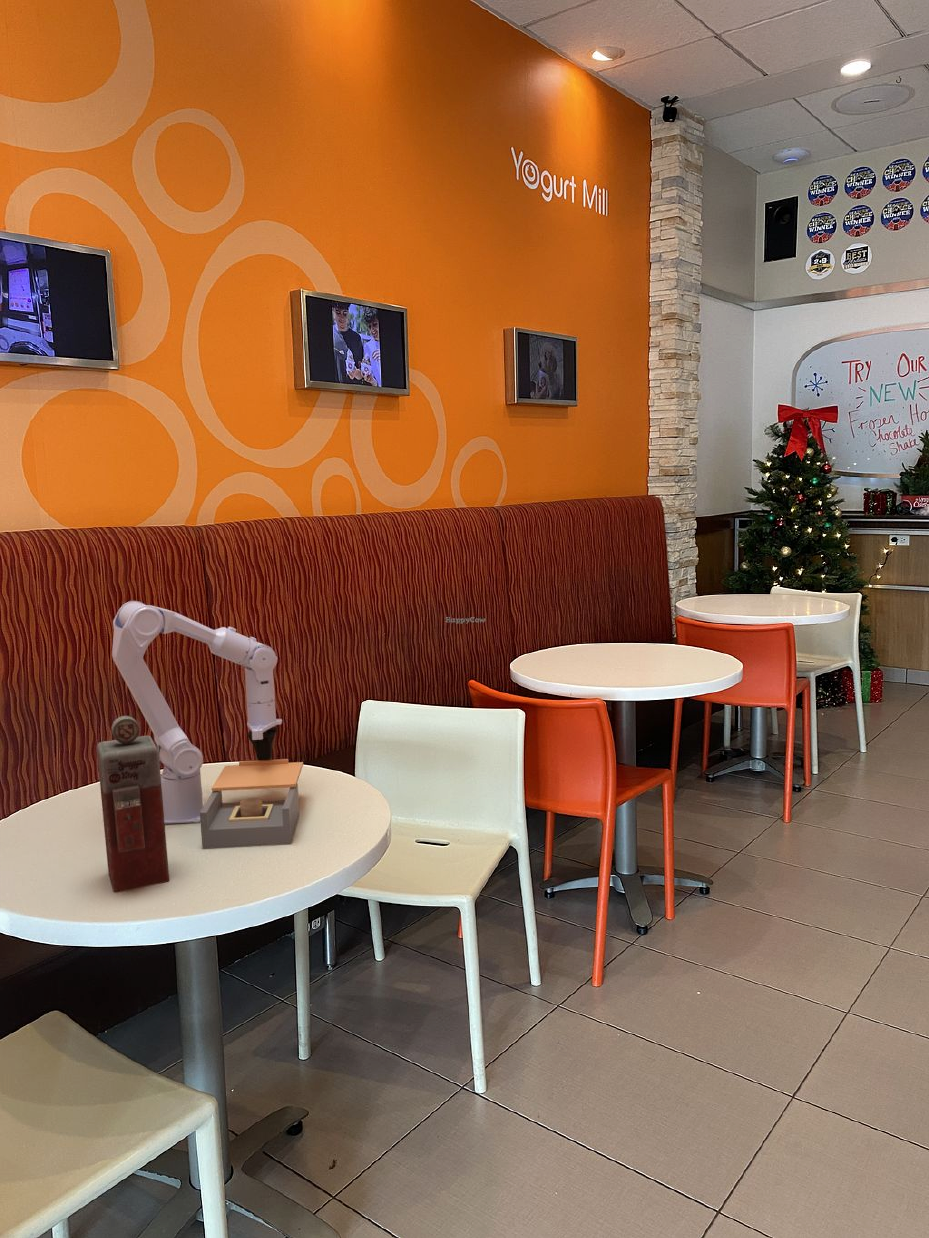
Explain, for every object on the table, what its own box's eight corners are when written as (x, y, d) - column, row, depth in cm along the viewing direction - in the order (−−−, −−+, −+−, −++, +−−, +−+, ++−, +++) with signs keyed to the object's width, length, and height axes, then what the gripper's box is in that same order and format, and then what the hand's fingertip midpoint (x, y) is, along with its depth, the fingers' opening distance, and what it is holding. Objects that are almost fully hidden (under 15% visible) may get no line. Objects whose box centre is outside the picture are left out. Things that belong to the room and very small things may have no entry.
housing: (202, 848, 171) (199, 812, 170) (217, 820, 185) (215, 787, 183) (290, 843, 172) (288, 808, 171) (299, 816, 185) (297, 783, 184)
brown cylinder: (240, 836, 176) (238, 805, 175) (244, 828, 180) (242, 798, 179) (262, 835, 176) (260, 804, 175) (265, 827, 180) (263, 797, 179)
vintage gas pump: (114, 898, 152) (99, 730, 147) (108, 872, 162) (93, 714, 157) (171, 886, 155) (158, 722, 151) (162, 861, 165) (148, 707, 161)
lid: (211, 791, 180) (211, 784, 180) (225, 768, 194) (224, 761, 194) (295, 787, 181) (295, 780, 181) (303, 764, 195) (302, 758, 195)
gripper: (275, 708, 186) (279, 773, 189) (284, 691, 201) (288, 752, 203) (239, 709, 186) (244, 775, 188) (251, 692, 200) (255, 754, 202)
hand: (264, 763), depth 195 cm, fingers closed
